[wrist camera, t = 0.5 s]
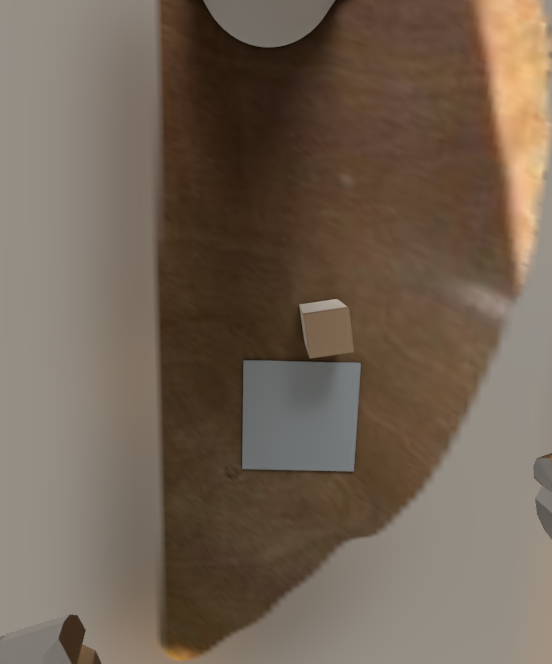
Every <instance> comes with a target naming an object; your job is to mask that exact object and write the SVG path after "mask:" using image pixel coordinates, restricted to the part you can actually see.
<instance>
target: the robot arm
mask: <svg viewBox="0 0 552 664" xmlns="http://www.w3.org/2000/svg"><path fill="white" fill-rule="evenodd" d="M203 1H204V3H205V5H206V7H207V8H208V10H209V12H210V13H211V15H212V16H213V18H214V19H215V20H216V22H217V23H218V24H219V25H220V26H221V27H222V28H223V29H224V30H225V31H226V32H228V33H229V34H230V35H232V36H233V37H235V38H236V39H238V40H240V41H242V42H244V43H247V44H250V45H254V46H258V47H279V46H284V45H288V44H290V43H293V42H295V41H297V40H299V39H301V38H303V37H304V36H306V35H307V34H308V33H310V32H311V31H312V30H313V29H314V28H315V27H316V26H317V25H318V24H319V23H320V22H321V21H322V19H323V18H324V17H325V15H326V13H327V12H328V10H329V9H330V7H331V6H332V4H333V3H334V2H335V0H203ZM534 478H535V479H536V480H537V481H538V482H539V483H540V484H541V485H542V487H541V489H540V491H539V493H538V495H537V497H536V498H535V500H536V508H537V515H538V517H539V519H540V522H541V524H542V526H543V528H544V530H545V531H546V533H547V534H548V535H549V537H550V538H551V539H552V453H551V454H548V455H545V456H542V457H539V458H537V459H536V461H535V464H534ZM85 631H86V630H85V628H84V626H83V625H82V623H81V621H80V619H79V617H78V616H77V615H67V616H64V617H61V618H57V619H54V620H50V621H47V622H44V623H41V624H38V625H34V626H31V627H28V628H24V629H21V630H18V631H15V632H11V633H8V634H6V635H5V636H1V637H0V664H101V661H100V659H99V657H98V655H97V653H96V651H95V650H93V649H91V648H89V647H87V646H85V645H83V644H82V643H83V639H84V635H85Z"/></svg>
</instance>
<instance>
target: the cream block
mask: <svg viewBox="0 0 552 664" xmlns="http://www.w3.org/2000/svg"><path fill="white" fill-rule="evenodd" d="M299 307H300V314H301V322H302V329H303V336H304V342H305V345H306V348H307V351H308V355H309V358H317V357H324V356H331V355H338V354H344V353H351V352H354V347H353V338H352V330H351V321H350V313H349V308H348V307H347V306H346V305H344V304H343V303H342V302H341V301H339V300H338V299H333V300H326V301H320V302H313V303H306V304H299Z"/></svg>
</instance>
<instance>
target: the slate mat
mask: <svg viewBox="0 0 552 664" xmlns="http://www.w3.org/2000/svg"><path fill="white" fill-rule="evenodd" d="M360 369H361V363H351V362H310V361H268V360H244V362H243V440H242V469H265V470H312V471H354V461H355V445H356V430H357V415H358V400H359V384H360Z"/></svg>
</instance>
